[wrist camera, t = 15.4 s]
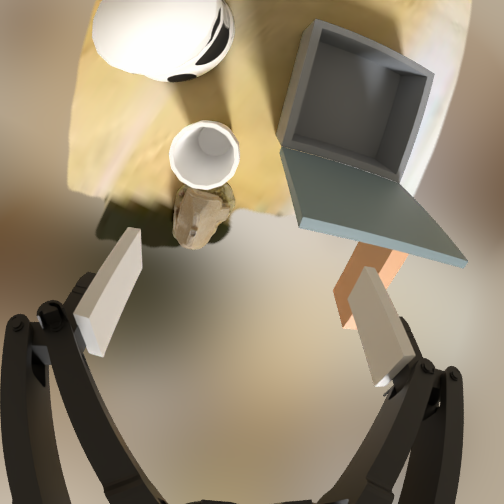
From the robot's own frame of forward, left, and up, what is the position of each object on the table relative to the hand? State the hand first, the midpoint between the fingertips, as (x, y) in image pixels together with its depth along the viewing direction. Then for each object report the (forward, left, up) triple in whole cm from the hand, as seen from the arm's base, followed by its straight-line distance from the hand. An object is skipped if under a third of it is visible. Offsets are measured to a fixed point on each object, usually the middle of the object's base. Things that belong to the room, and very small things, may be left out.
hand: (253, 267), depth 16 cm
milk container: (-17, -15, -36) cm, 43 cm away
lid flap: (-2, +14, -16) cm, 21 cm away
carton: (-12, +14, -36) cm, 40 cm away
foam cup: (+1, -6, -36) cm, 37 cm away
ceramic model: (+15, -7, -36) cm, 40 cm away
